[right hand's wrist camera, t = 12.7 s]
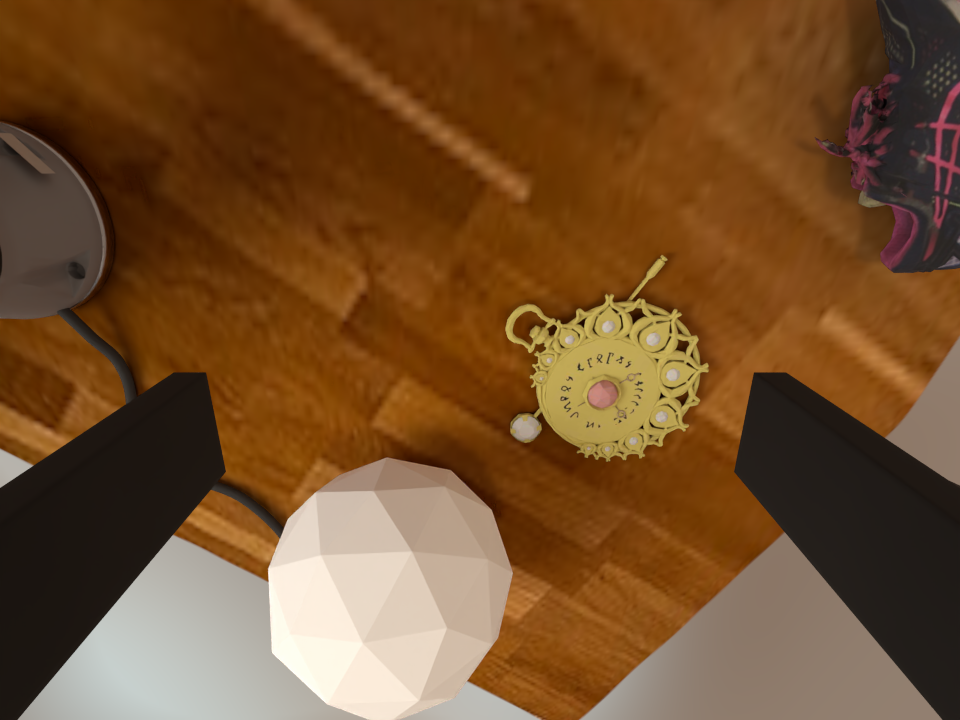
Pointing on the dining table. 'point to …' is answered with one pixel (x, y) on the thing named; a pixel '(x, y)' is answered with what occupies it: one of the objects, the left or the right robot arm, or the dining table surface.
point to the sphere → (388, 589)
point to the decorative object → (610, 376)
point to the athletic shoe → (912, 135)
